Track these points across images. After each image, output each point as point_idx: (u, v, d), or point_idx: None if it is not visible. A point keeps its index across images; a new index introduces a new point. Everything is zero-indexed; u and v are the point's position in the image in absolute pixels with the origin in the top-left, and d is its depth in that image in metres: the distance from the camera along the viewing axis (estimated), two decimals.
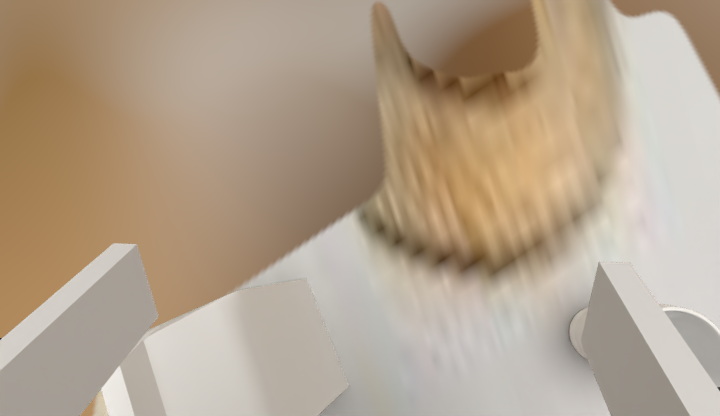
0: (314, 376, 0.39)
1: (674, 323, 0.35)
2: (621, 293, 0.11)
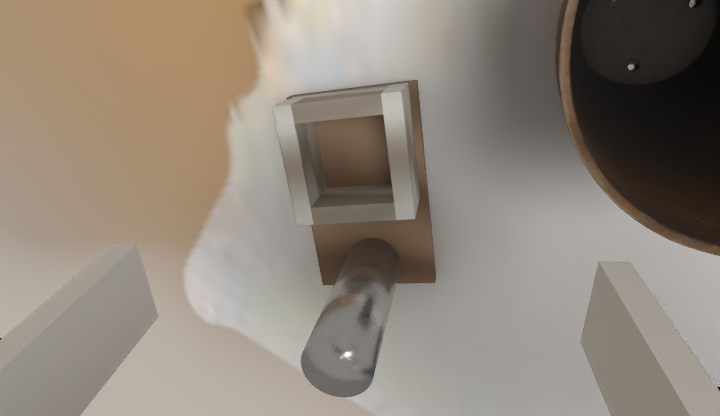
0: None
1: None
2: (621, 293, 0.11)
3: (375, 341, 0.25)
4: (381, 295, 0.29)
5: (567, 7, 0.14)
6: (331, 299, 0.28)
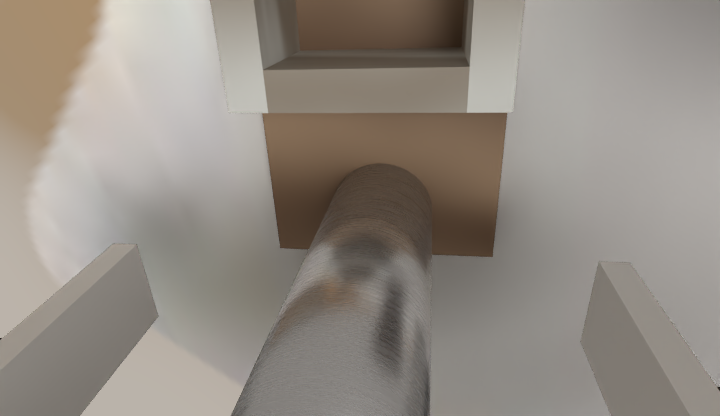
0: None
1: None
2: (621, 293, 0.11)
3: None
4: (421, 287, 0.12)
5: None
6: (301, 292, 0.11)
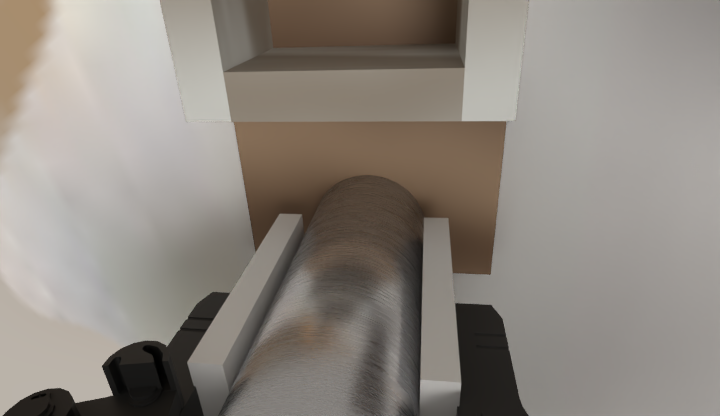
0: None
1: None
2: (426, 239, 0.13)
3: None
4: (410, 329, 0.10)
5: None
6: (267, 343, 0.09)
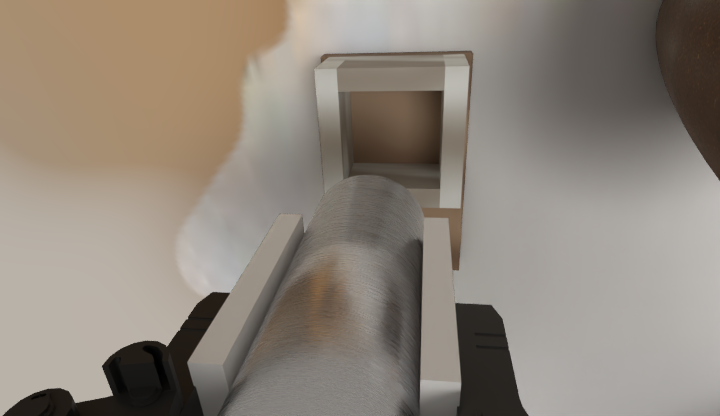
0: None
1: None
2: (427, 239, 0.13)
3: None
4: (410, 329, 0.10)
5: None
6: (267, 342, 0.09)
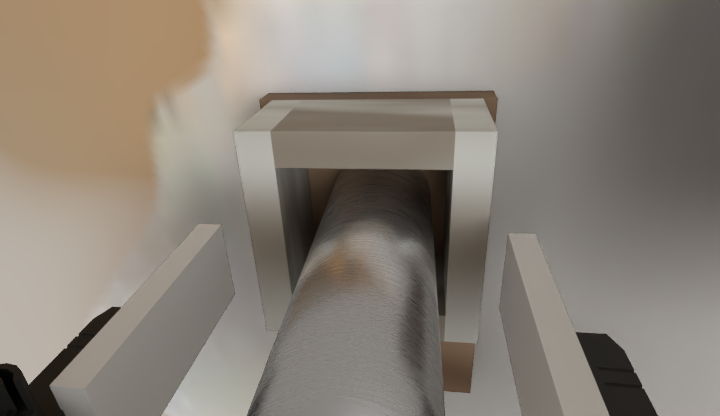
0: None
1: None
2: (519, 258, 0.12)
3: (443, 398, 0.09)
4: (428, 268, 0.13)
5: None
6: (315, 275, 0.11)
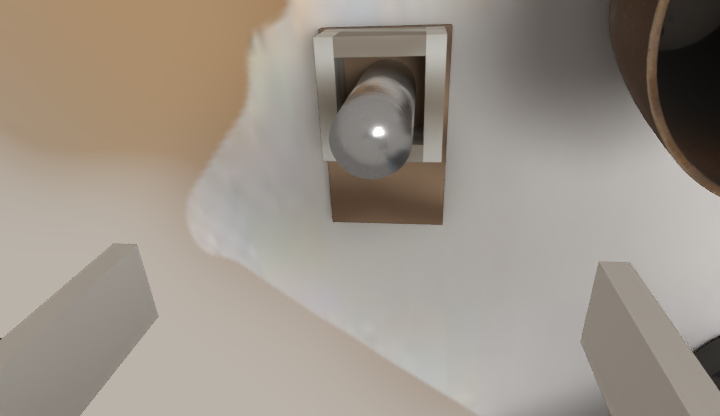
0: None
1: None
2: (621, 292, 0.11)
3: (411, 120, 0.23)
4: (409, 93, 0.26)
5: None
6: (357, 87, 0.25)
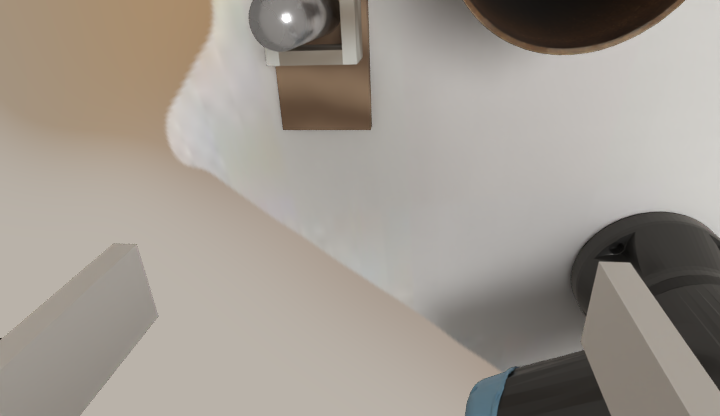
0: None
1: None
2: (621, 293, 0.11)
3: (310, 9, 0.32)
4: (319, 0, 0.35)
5: None
6: None
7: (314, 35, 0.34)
